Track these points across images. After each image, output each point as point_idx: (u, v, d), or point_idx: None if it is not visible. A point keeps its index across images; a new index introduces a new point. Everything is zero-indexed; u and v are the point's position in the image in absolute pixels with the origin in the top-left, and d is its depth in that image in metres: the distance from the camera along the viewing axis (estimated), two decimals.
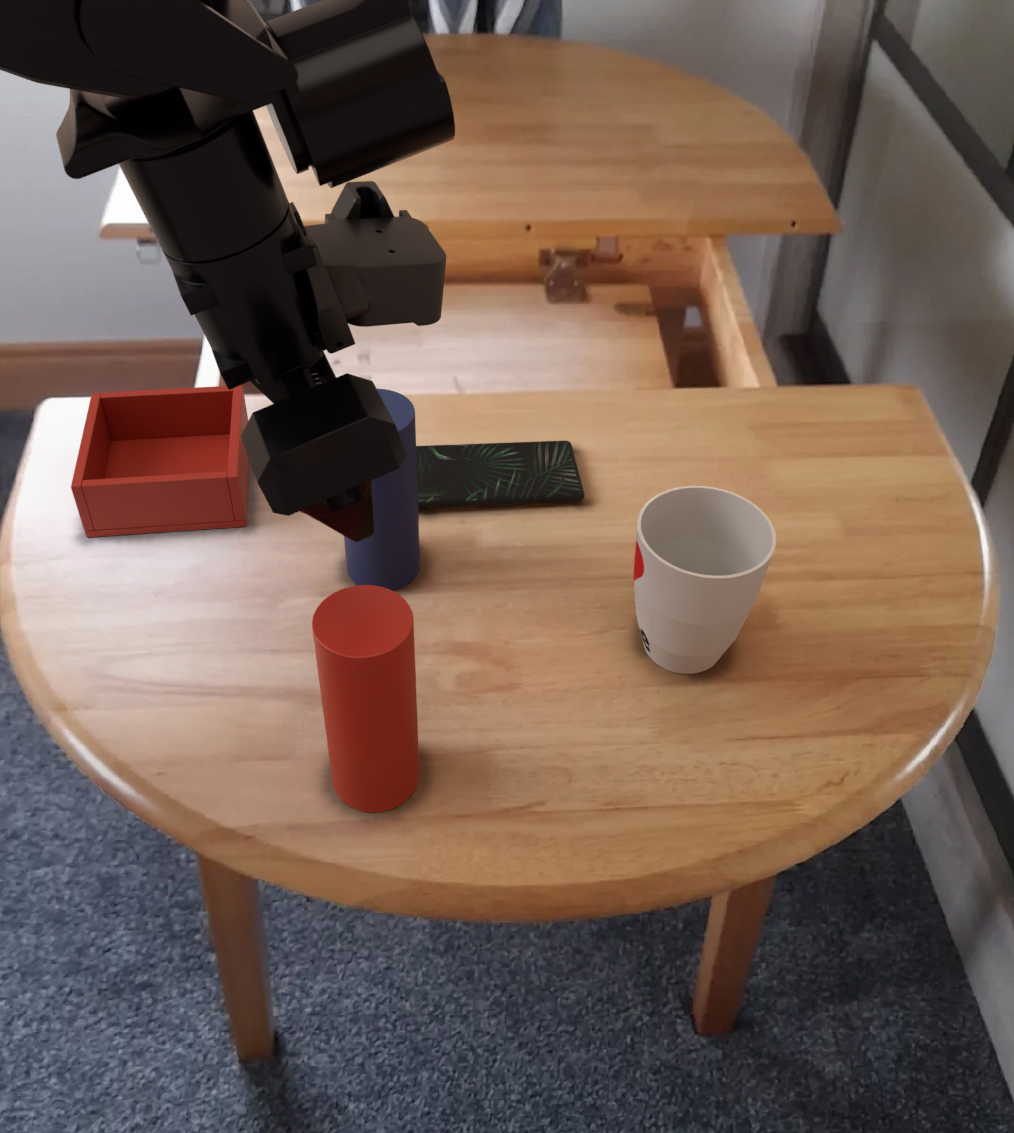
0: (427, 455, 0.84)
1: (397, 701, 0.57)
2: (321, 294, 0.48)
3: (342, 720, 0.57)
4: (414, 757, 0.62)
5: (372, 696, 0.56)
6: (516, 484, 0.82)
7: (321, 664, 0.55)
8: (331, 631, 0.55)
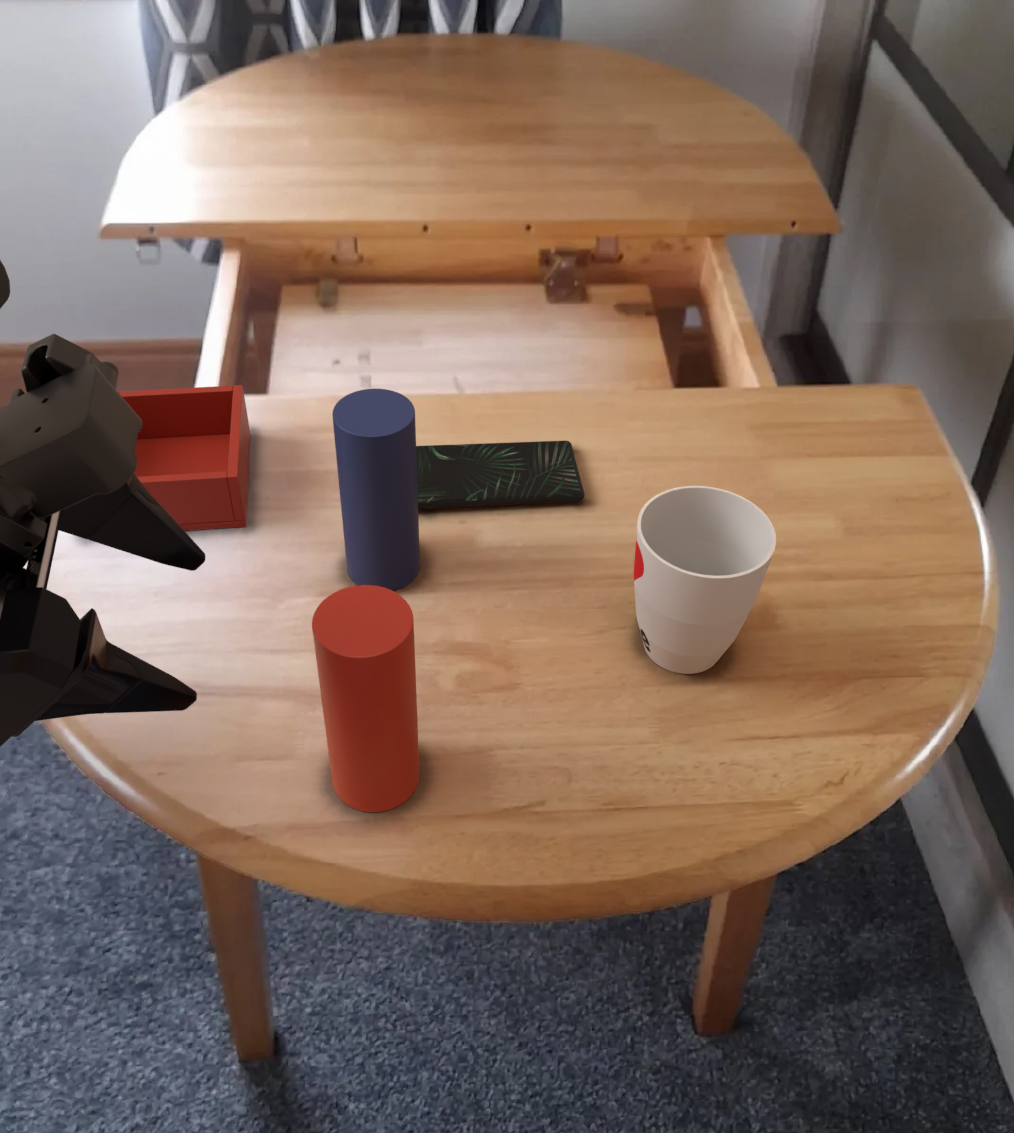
0: (427, 455, 0.84)
1: (397, 701, 0.57)
2: None
3: (342, 720, 0.57)
4: (414, 757, 0.62)
5: (372, 696, 0.56)
6: (516, 484, 0.82)
7: (321, 664, 0.55)
8: (331, 631, 0.55)
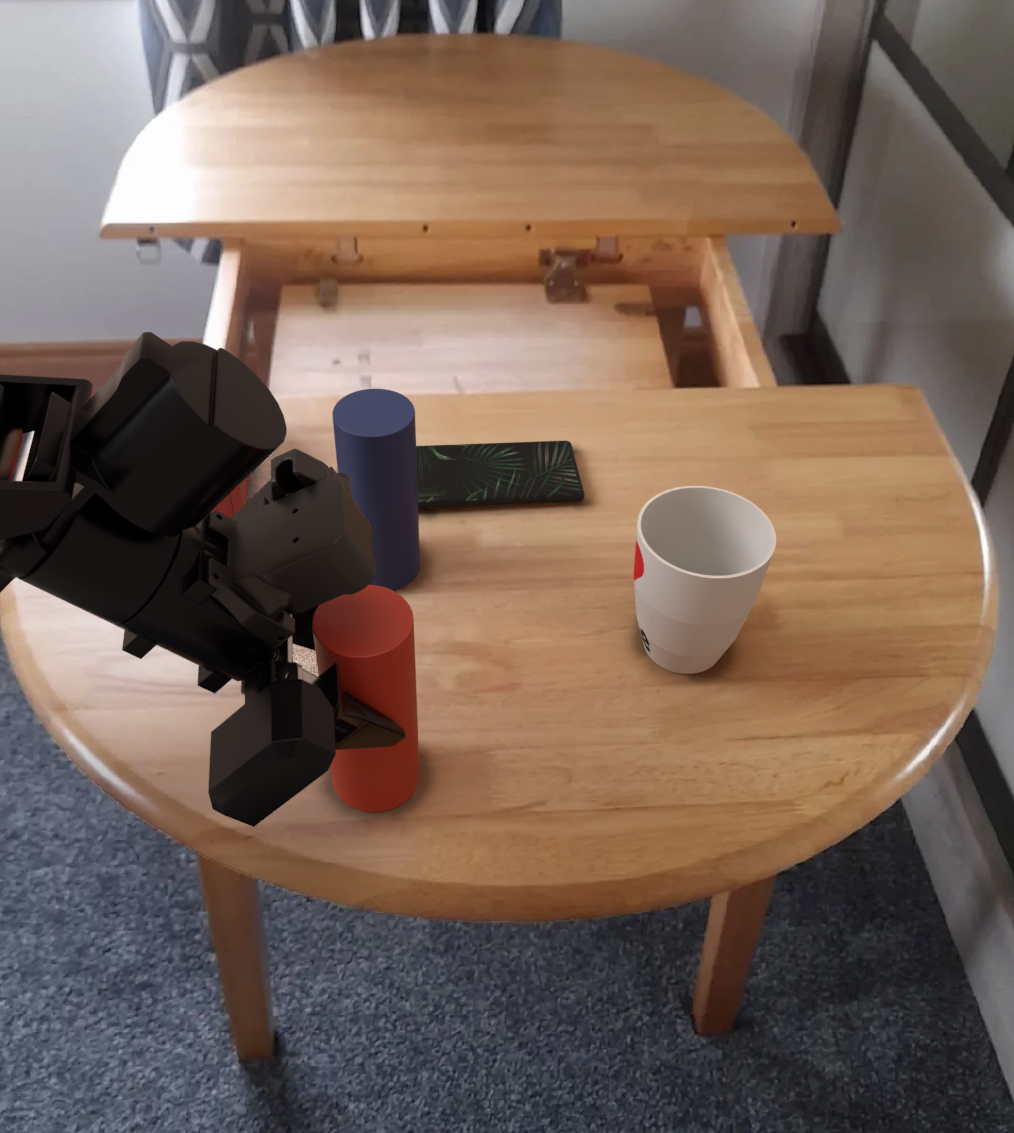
0: (427, 455, 0.84)
1: (397, 701, 0.57)
2: (235, 610, 0.50)
3: None
4: (414, 757, 0.62)
5: (372, 696, 0.56)
6: (516, 484, 0.82)
7: (321, 664, 0.55)
8: (332, 631, 0.55)
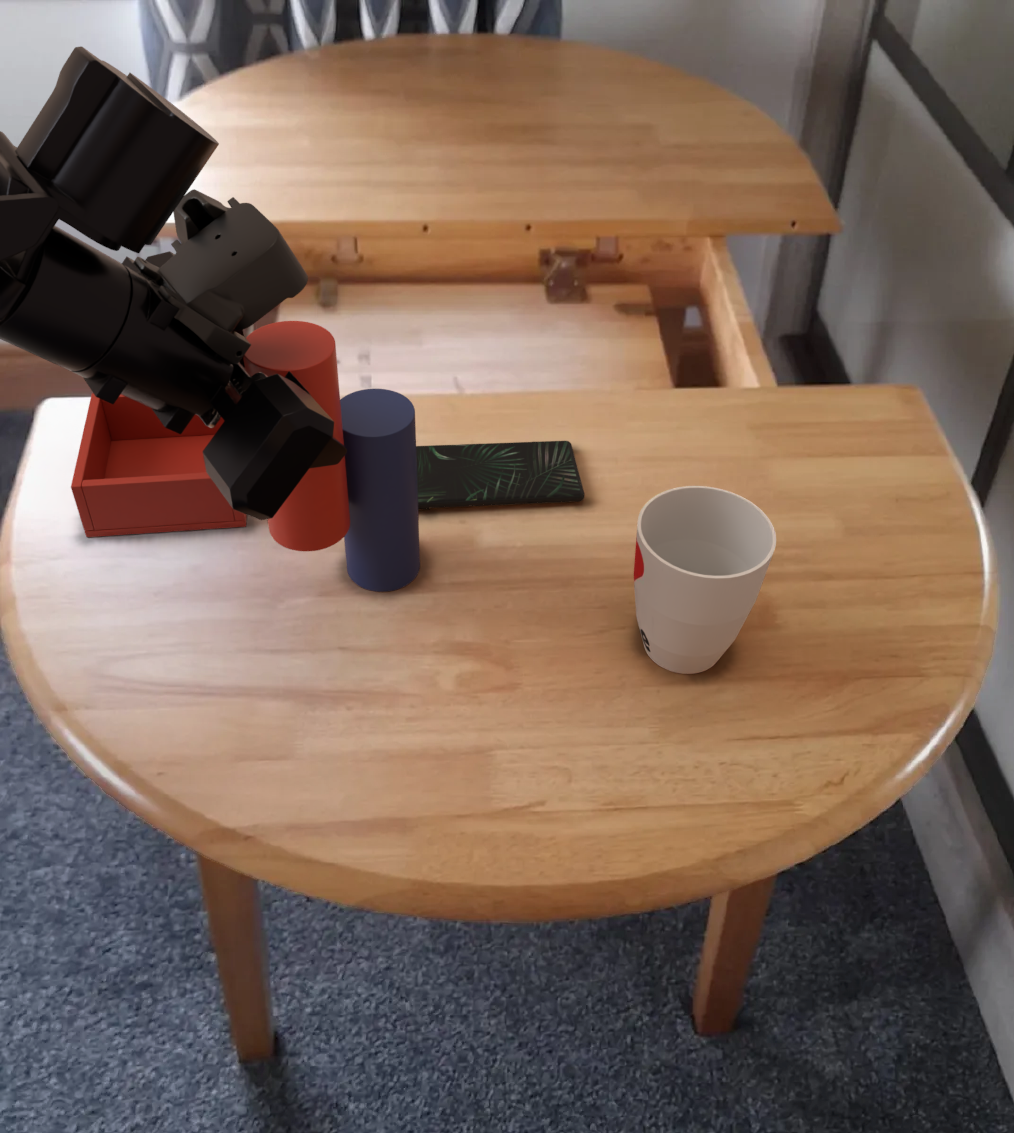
0: (427, 455, 0.84)
1: (334, 417, 0.63)
2: (198, 328, 0.54)
3: None
4: None
5: None
6: (516, 484, 0.82)
7: None
8: (267, 358, 0.59)
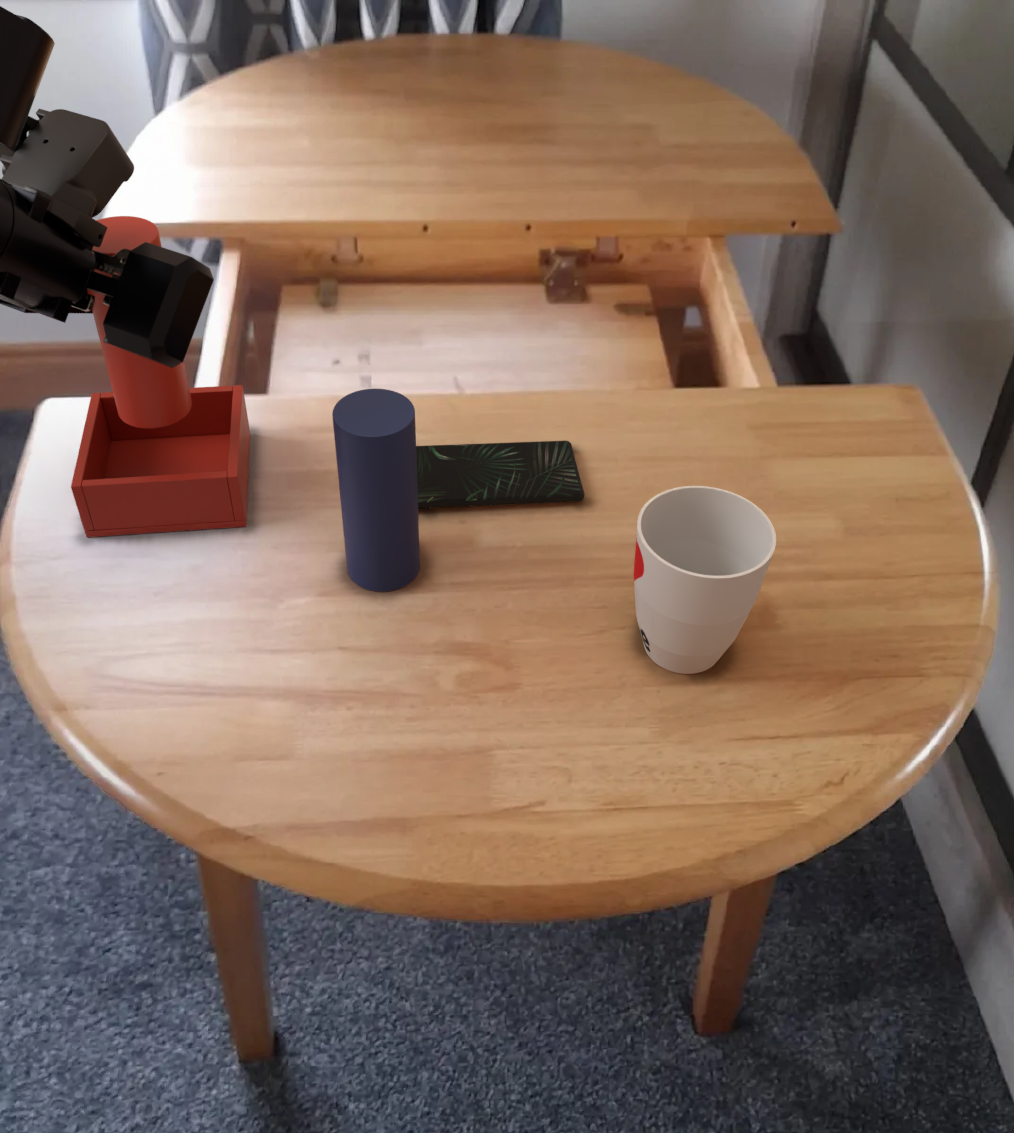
0: (427, 455, 0.84)
1: None
2: (67, 217, 0.62)
3: None
4: None
5: None
6: (516, 484, 0.82)
7: None
8: (106, 246, 0.68)
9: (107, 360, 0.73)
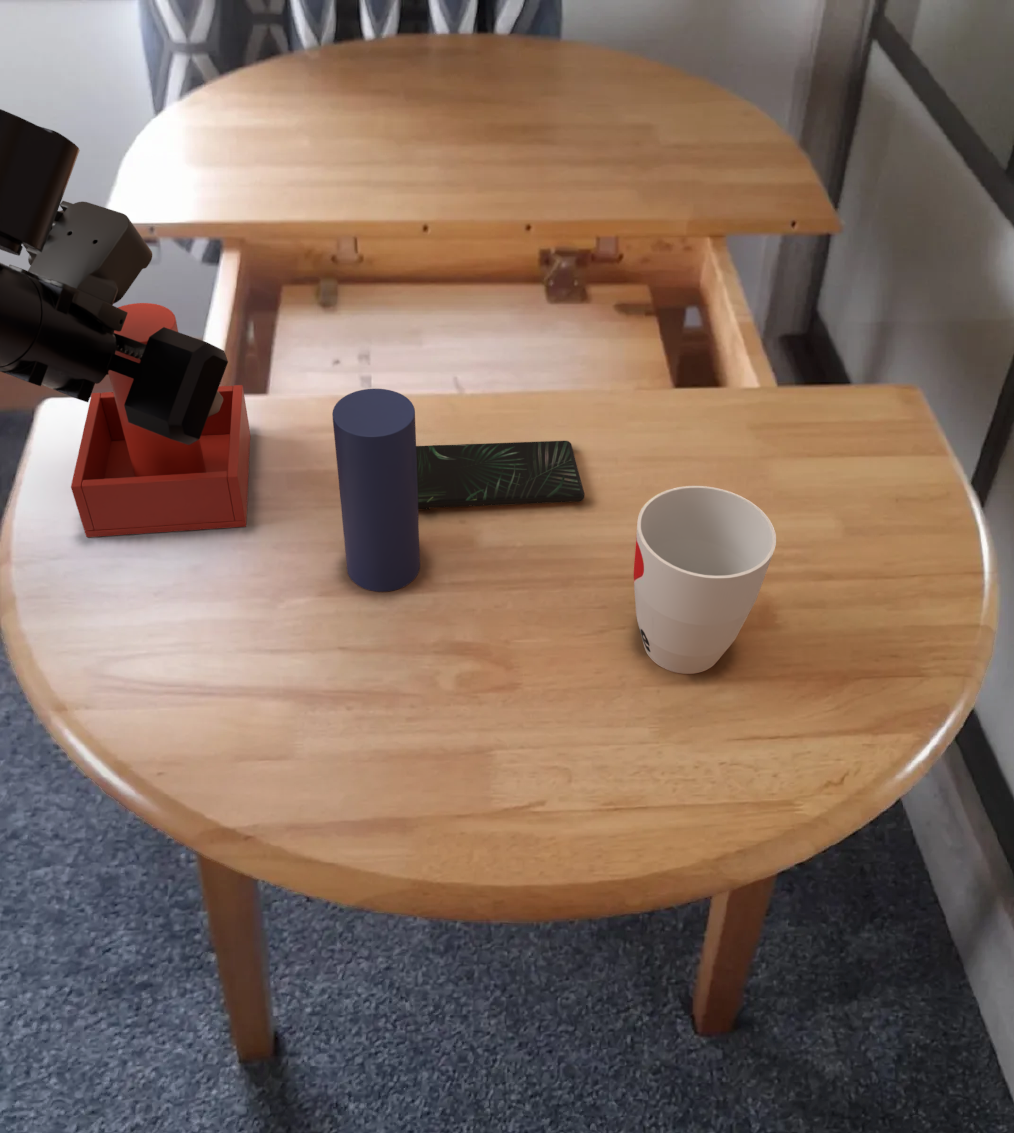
0: (427, 455, 0.84)
1: None
2: (90, 307, 0.65)
3: None
4: None
5: None
6: (516, 484, 0.82)
7: None
8: (127, 335, 0.72)
9: (127, 436, 0.78)
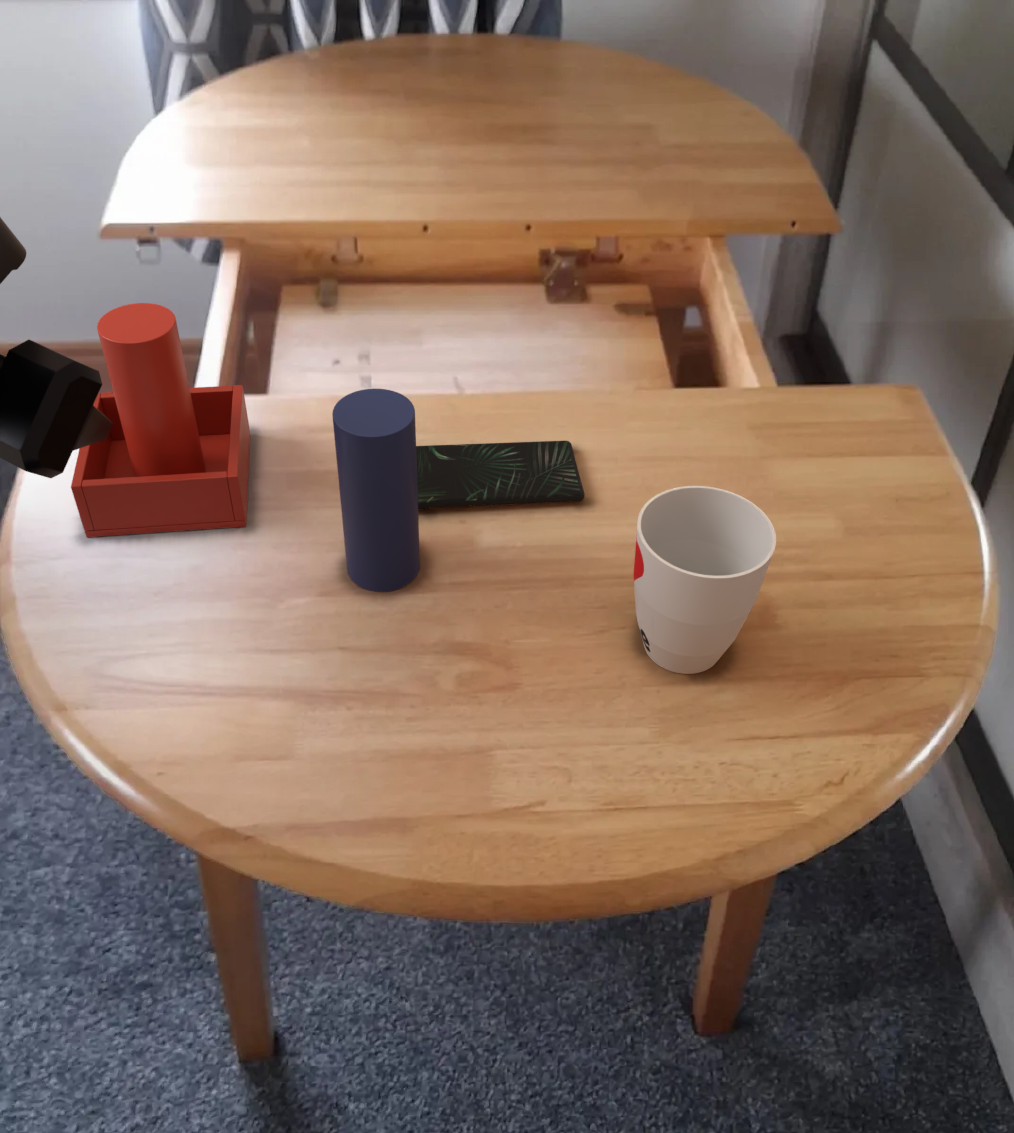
0: (427, 455, 0.84)
1: (185, 373, 0.76)
2: None
3: (160, 407, 0.75)
4: None
5: (176, 370, 0.75)
6: (516, 484, 0.82)
7: (132, 365, 0.73)
8: (127, 335, 0.72)
9: (127, 436, 0.78)
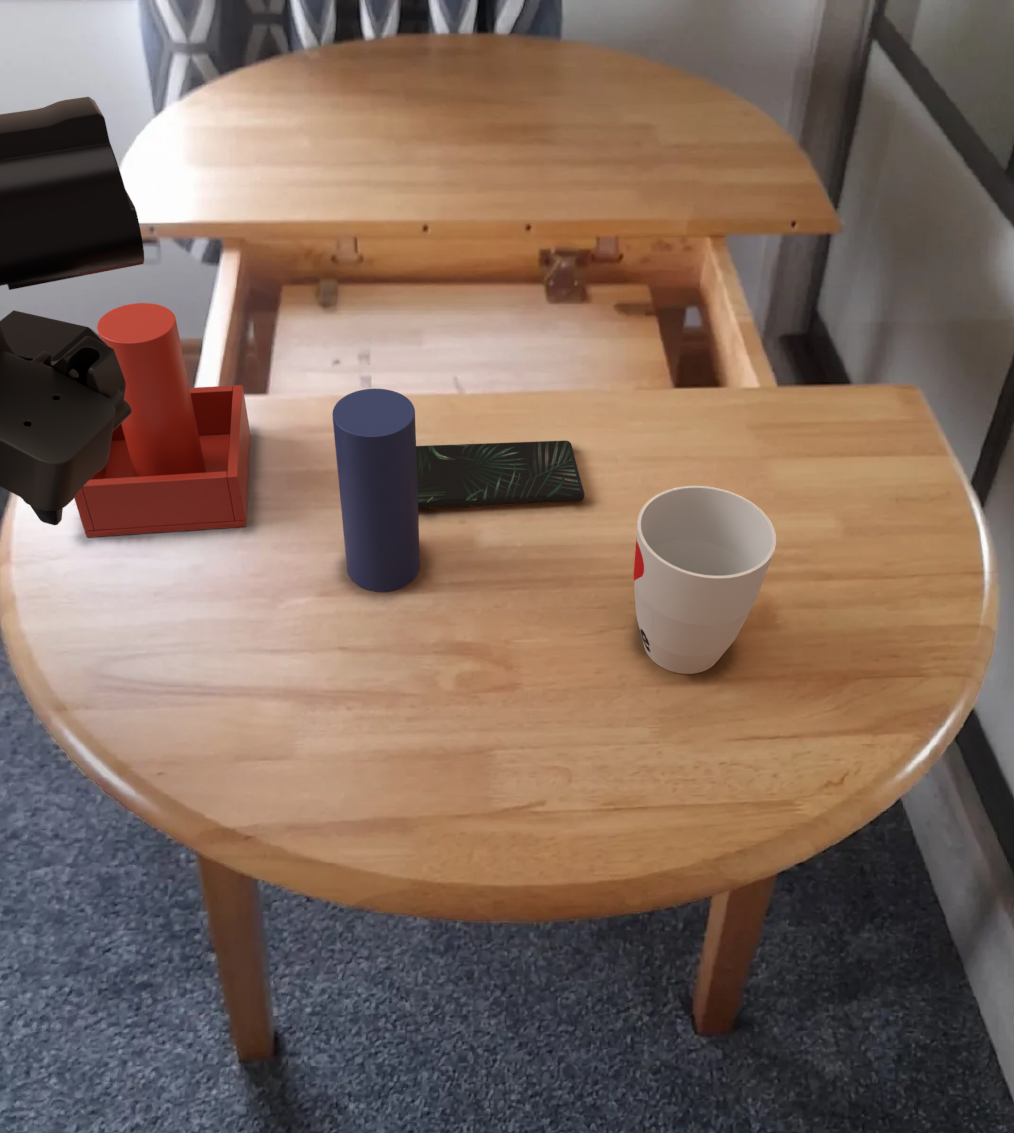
0: (427, 455, 0.84)
1: (185, 373, 0.76)
2: None
3: (160, 407, 0.75)
4: None
5: (176, 370, 0.75)
6: (516, 484, 0.82)
7: (132, 365, 0.73)
8: (127, 335, 0.72)
9: (127, 436, 0.78)
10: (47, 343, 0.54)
